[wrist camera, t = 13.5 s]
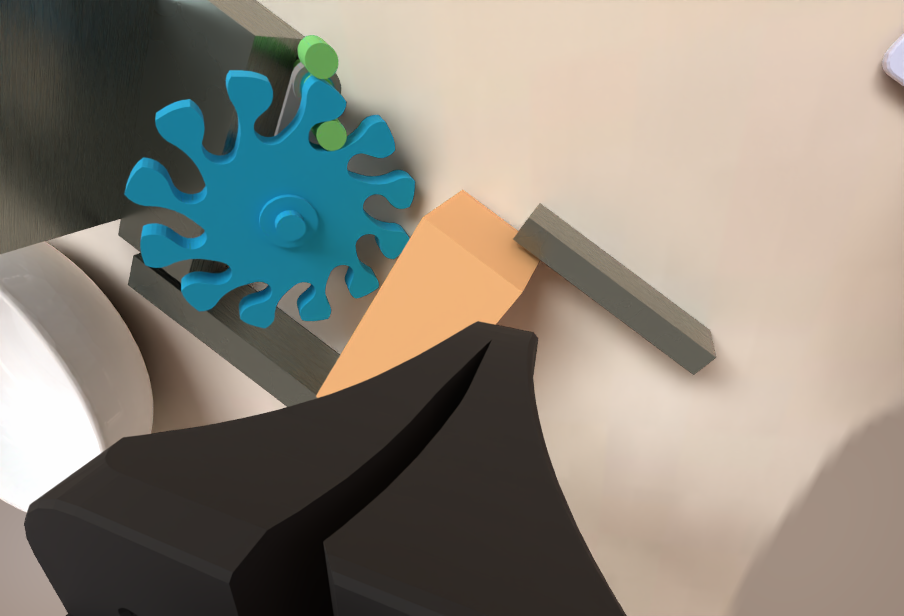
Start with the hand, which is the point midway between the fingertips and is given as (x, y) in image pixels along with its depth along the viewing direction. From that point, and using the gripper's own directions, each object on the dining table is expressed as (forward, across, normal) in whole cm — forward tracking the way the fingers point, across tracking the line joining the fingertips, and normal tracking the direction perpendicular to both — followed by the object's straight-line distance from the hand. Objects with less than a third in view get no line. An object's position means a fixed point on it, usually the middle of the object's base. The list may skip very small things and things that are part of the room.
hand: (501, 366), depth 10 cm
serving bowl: (+10, +32, +12) cm, 35 cm away
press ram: (+10, +5, +4) cm, 12 cm away
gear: (+10, +10, -1) cm, 14 cm away
